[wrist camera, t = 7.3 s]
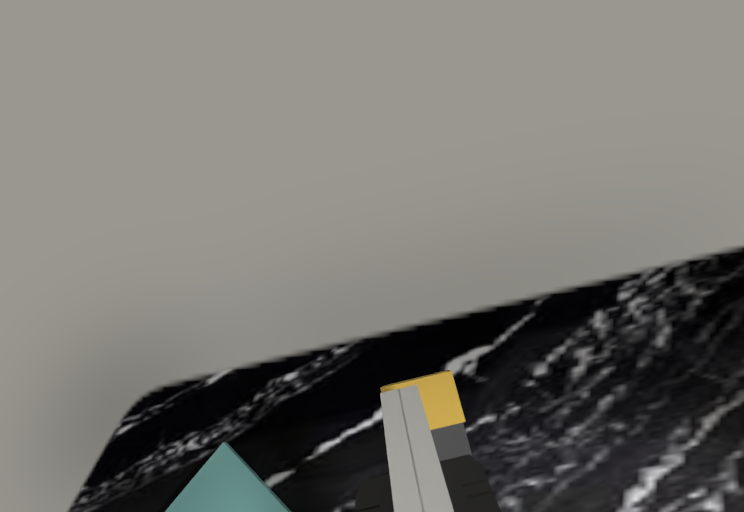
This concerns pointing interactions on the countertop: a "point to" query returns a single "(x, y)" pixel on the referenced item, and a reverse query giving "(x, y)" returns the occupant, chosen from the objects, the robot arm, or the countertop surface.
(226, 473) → the pad
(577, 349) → the countertop surface
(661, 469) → the countertop surface
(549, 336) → the countertop surface
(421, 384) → the lever
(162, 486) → the countertop surface
